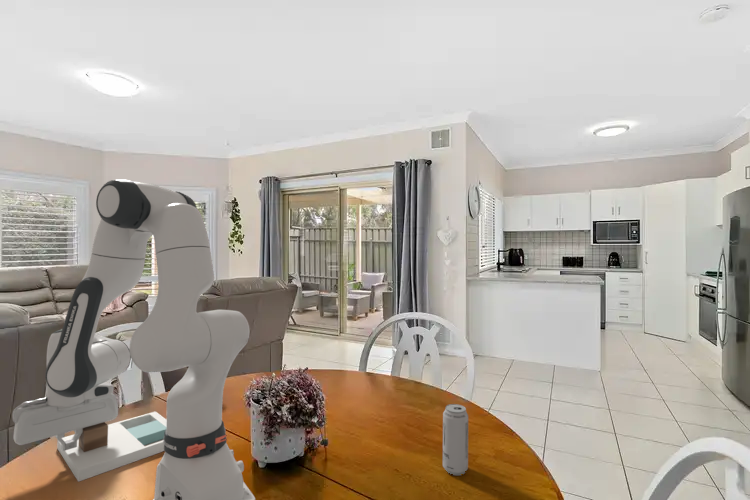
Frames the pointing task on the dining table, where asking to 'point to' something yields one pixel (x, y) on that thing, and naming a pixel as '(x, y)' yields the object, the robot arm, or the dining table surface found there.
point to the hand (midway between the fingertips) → (69, 448)
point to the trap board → (118, 446)
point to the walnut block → (94, 437)
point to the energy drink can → (455, 439)
